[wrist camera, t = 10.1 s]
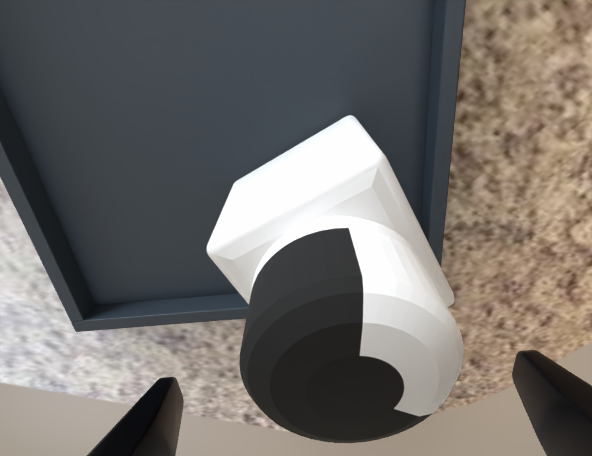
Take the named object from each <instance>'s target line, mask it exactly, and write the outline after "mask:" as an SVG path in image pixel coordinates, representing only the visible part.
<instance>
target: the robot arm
mask: <svg viewBox="0 0 592 456" xmlns="http://www.w3.org/2000/svg"><path fill="white" fill-rule="evenodd" d="M512 378H513V382H514V384H515V387H516V389H517V391H518V393H519V396H520V398H521V400H522V403H523V405H524V407H525V409H526V412H527V414H528V416H529V419H530V421H531V423H532V426H533V428H534V430H535V433H536V435H537V437H538V439H539V441H540V443H541V445H542V447H543V449H544V451H545V453H546V454H547V456H592V386H591V385H590V384H588V383H586V382H585V381H583V380H582V379H580V378H579V377H577V376H575V375H574V374H572V373H571V372H569V371H568V370H566V369H565V368H563V367H561V366H560V365H558V364H557V363H555V362H554V361H552V360H551V359H549V358H547V357H546V356H544V355H543V354H541V353H540V352H538V351H535V350H526V351H519V352H518V353H517V355H516V359H515V363H514V368H513V372H512ZM183 403H184V402H183V396H182V393H181V390H180V387H179V384H178V382H177V379H176V378H175V377H166V378H160V379H159V380H157V381H156V382H155V384H154V385H153V386H152V387H151V388H150V389H149V390H148V391H147V392H146V393H145V394H144V395H143V396H142V397H141V398H140V400H139V401H138V402H137V403H136V404H135V405H134V406H133V407H132V408H131V409H130V410H129V411H128V412H127V413H126V415H125V416H124V417H123V418H122V419H121V420H120V421H119V422H118V423H117V424H116V425H115V426H114V427H113V428H112V430H111V431H110V432H109V433H108V434H107V435H106V436H105V437H104V438H103V439H102V440H101V441H100V442H99V443H98V444H97V445H96V446H95V448H94V449H93V450H92V451H91V452H90V453H89V454H88V455H87V456H175V454H176V448H177V442H178V436H179V429H180V424H181V417H182V411H183Z"/></svg>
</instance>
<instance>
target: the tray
mask: <svg viewBox="0 0 592 456" xmlns="http://www.w3.org/2000/svg"><path fill="white" fill-rule="evenodd" d="M465 4H466V0H0V177H1V179H2V181H3V183H4V185H5V187H6V189H7V191H8V193H9V196H10V198H11V200H12V202H13V204H14V206H15V208H16V210H17V212H18V214H19V216H20V218H21V220H22V222H23V224H24V226H25V228H26V230H27V232H28V234H29V237H30V239H31V241H32V243H33V245H34V247H35V249H36V251H37V253H38V255H39V257H40V259H41V261H42V263H43V265H44V267H45V269H46V271H47V273H48V275H49V278H50V280H51V282H52V284H53V286H54V288H55V290H56V292H57V294H58V296H59V298H60V300H61V302H62V304H63V306H64V308H65V310H66V312H67V314H68V316H69V318H70V321H72V322H71V323H72V325H73V327H74V329H75V331H76V332H80V331H93V330H105V329H118V328H131V327H143V326H156V325H169V324H181V323H194V322H207V321H219V320H232V319H245V318H247V312H248V306H249V304H248V303H247V302H246V301H245V299H244V298H243V297H242V296H241V294H240V293H239V292H238V291H237V290H236V288H235V287H234V286H233V285H232V284H231V282H230V281H229V280H228V279H227V277H226V276H225V275H224V274H223V273H222V271H221V270H220V269H219V268H218V266H217V265H216V264H215V263H214V262H213V260H212V259H211V258H210V257H209V255H208V253H207V245H208V242H209V240H210V238H211V235H212V233H213V231H214V228H215V226H216V224H217V221H218V219H219V217H220V214H221V212H222V210H223V207H224V205H225V203H226V200H227V198H228V196H229V193H230V191H231V189H232V186H233V184H234V183H235V182H236V181H237V180H239V179H241V178H242V177H244V176H246V175H247V174H249V173H251V172H252V171H254V170H256V169H258V168H259V167H261V166H263V165H264V164H266V163H268V162H269V161H271V160H273V159H275V158H276V157H278V156H280V155H281V154H283V153H285V152H286V151H288V150H290V149H292V148H293V147H295V146H297V145H298V144H300V143H302V142H303V141H305V140H307V139H309V138H310V137H312V136H314V135H315V134H317V133H319V132H320V131H322V130H324V129H325V128H327V127H329V126H331V125H332V124H334V123H336V122H337V121H339V120H341V119H342V118H344V117H346V116H349V115H351V116H354V117H355V118H356V119H357V120H358V121H359V123H360V124H361V125H362V127H363V128H364V129H365V130H366V132H367V133H368V134H369V136H370V137H371V138H372V139H373V141H374V142H375V143H376V145H377V146H378V147H379V148H380V150H381V151H382V152H383V154H384V155H385V156H386V158H387V160H388V162H389V164H390V166H391V168H392V170H393V172H394V174H395V176H396V178H397V180H398V182H399V184H400V186H401V188H402V190H403V192H404V194H405V196H406V198H407V200H408V202H409V204H410V207H411V209H412V211H413V213H414V215H415V217H416V219H417V221H418V223H419V225H420V227H421V229H422V231H423V233H424V235H425V237H426V239H427V241H428V243H429V245H430V247H431V249H432V251H433V253H434V255H435V257H436V259H437V261H438V263H439V265H440V267H441V258H442V248H443V237H444V227H445V216H446V205H447V195H448V184H449V174H450V163H451V152H452V142H453V131H454V120H455V110H456V99H457V89H458V78H459V67H460V57H461V46H462V36H463V25H464V14H465Z"/></svg>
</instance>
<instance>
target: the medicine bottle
mask: <svg viewBox="0 0 592 456" xmlns="http://www.w3.org/2000/svg"><path fill="white" fill-rule="evenodd" d="M207 253H208V255H209V257H210V258H211V259H212V260H213V262H214V263H215V264H216V265H217V266H218V268H219V269H220V270H221V271H222V273H223V274H224V275H225V276H226V277H227V279H228V280H229V281H230V282H231V284H232V285H233V286H234V287H235V288H236V290H237V291H238V292H239V293H240V294H241V296H242V297H243V298H244V299H245V301H246V302H247V303H248V304H249V306H248V312H247V318H246V324H245V329H244V335H243V341H242V346H241V352H240V372H241V377H242V380H243V383H244V386H245V388H246V390H247V392H248V394H249V395H250V397H251V398H252V399H253V401H254V402H255V403H256V404H257V406H258V407H259V408H260V409H261V410H262V411H263V412H264V413H265V414H266V415H267V416H268V417H269V418H270V419H271V420H273V421H274V422H275V423H277V424H278V425H280V426H281V427H283V428H285V429H287V430H289V431H291V432H293V433H296V434H298V435H300V436H304V437H307V438H310V439H315V440H320V441H325V442H335V443H356V442H366V441H372V440H377V439H381V438H385V437H389V436H392V435H395V434H398V433H400V432H403V431H405V430H407V429H409V428H411V427H413V426H415V425H416V424H418V423H420V422H421V421H423V420H424V419H426V418H427V417H429V416H430V415H431V414H433V413H434V412H435V411H436V410H437V409H438V408H439V407H440V406H441V405H442V403H443V402H444V401H445V400H446V398H447V397H448V396H449V394H450V392H451V390H452V389H453V387H454V385H455V383H456V380H457V378H458V376H459V373H460V370H461V368H462V362H463V357H464V349H463V340H462V336H461V332H460V330H459V328H458V325H457V323H456V321H455V319H454V318H453V316H452V314H451V312H450V311H449V309H448V307H449V306H451V305H452V304H453V303H454V294H453V292H452V290H451V288H450V286H449V284H448V282H447V280H446V278H445V276H444V274H443V272H442V270H441V267H440V265H439V263H438V261H437V259H436V257H435V255H434V253H433V251H432V249H431V247H430V245H429V243H428V241H427V239H426V237H425V235H424V233H423V231H422V229H421V227H420V225H419V223H418V221H417V219H416V217H415V215H414V213H413V211H412V209H411V207H410V204H409V202H408V200H407V198H406V196H405V194H404V192H403V190H402V188H401V186H400V184H399V182H398V180H397V178H396V176H395V174H394V172H393V170H392V168H391V166H390V164H389V162H388V160H387V158H386V156H385V155H384V154H383V152H382V151H381V150H380V148H379V147H378V146H377V145H376V143H375V142H374V141H373V139H372V138H371V137H370V136H369V134H368V133H367V132H366V130H365V129H364V128H363V127H362V125H361V124H360V123H359V121H358V120H357V119H356V118H355V117H354V116H351V115H349V116H346V117H344V118H342V119H341V120H339V121H337V122H336V123H334V124H332V125H331V126H329V127H327V128H325V129H324V130H322V131H320V132H319V133H317V134H315V135H314V136H312V137H310V138H309V139H307V140H305V141H303V142H302V143H300V144H298V145H297V146H295V147H293V148H292V149H290V150H288V151H286V152H285V153H283V154H281V155H280V156H278V157H276V158H275V159H273V160H271V161H269V162H268V163H266V164H264V165H263V166H261V167H259V168H258V169H256V170H254V171H252V172H251V173H249V174H247V175H246V176H244V177H242V178H241V179H239V180H237V181H236V182H235V183H234V184H233V186H232V189H231V191H230V193H229V196H228V198H227V200H226V203H225V205H224V207H223V210H222V212H221V214H220V217H219V219H218V221H217V224H216V226H215V228H214V231H213V233H212V235H211V238H210V240H209V242H208V245H207Z"/></svg>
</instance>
